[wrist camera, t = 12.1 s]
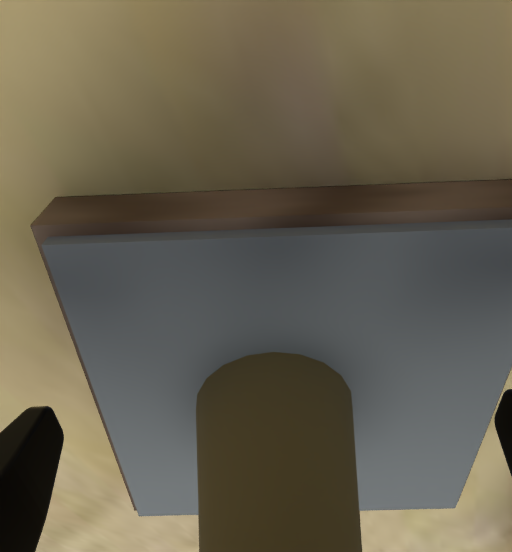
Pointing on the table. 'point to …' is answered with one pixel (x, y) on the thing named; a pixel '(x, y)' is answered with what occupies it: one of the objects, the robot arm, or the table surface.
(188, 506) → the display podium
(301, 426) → the brown rounded upright piece
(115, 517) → the table surface
